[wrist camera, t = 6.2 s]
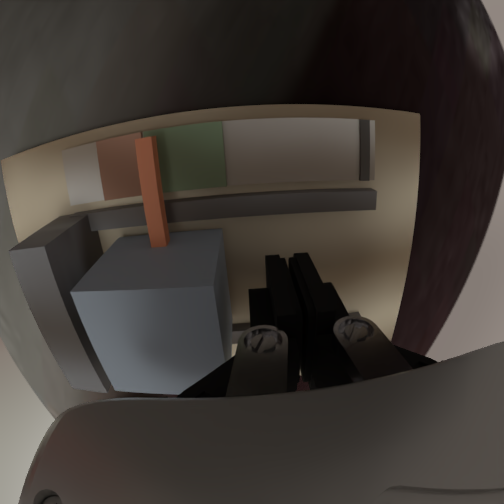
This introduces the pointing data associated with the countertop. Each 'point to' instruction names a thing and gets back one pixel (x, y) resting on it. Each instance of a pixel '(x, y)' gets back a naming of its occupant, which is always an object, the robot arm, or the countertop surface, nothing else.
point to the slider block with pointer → (158, 299)
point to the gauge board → (222, 207)
